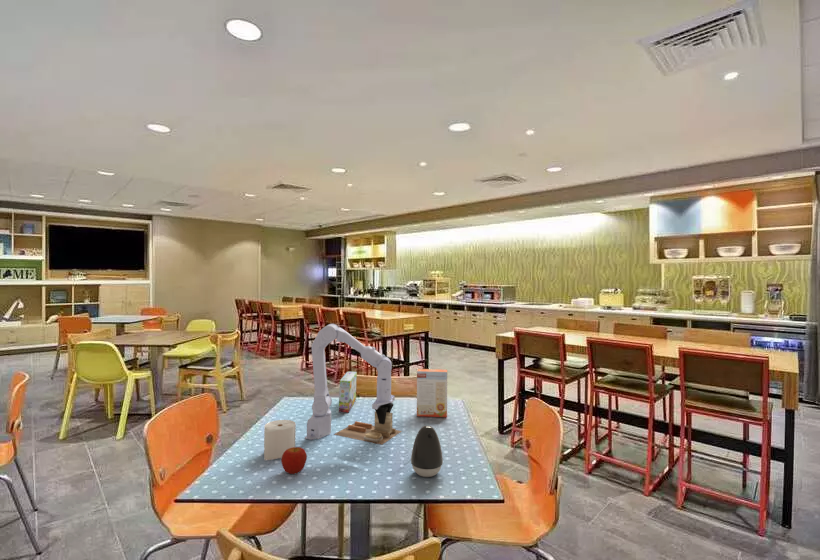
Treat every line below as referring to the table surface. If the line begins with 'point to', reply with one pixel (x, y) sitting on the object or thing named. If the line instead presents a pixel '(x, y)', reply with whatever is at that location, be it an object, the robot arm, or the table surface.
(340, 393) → the snack box
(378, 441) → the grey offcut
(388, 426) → the birch board
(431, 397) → the cracker box
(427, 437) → the dark grey egg shape
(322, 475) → the table surface
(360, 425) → the rack
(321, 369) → the robot arm
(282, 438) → the toilet tissue
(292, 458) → the apple
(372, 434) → the oak offcut
